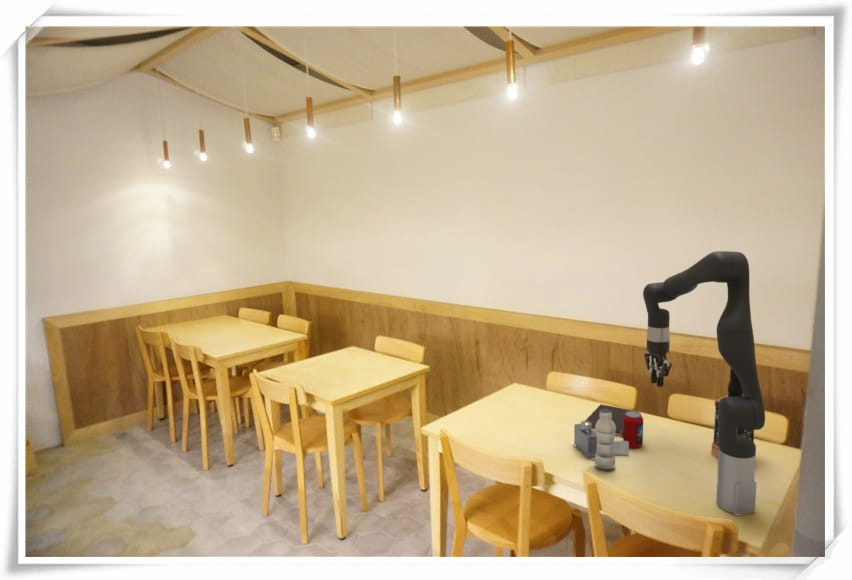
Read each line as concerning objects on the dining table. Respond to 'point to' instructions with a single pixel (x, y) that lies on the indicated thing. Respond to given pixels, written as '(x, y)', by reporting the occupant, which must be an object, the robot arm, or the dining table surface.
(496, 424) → the dining table surface
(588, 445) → the motor housing
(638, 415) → the beverage can
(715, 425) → the whiskey bottle
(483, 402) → the dining table surface
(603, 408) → the hardcover book
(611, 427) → the plastic bottle
